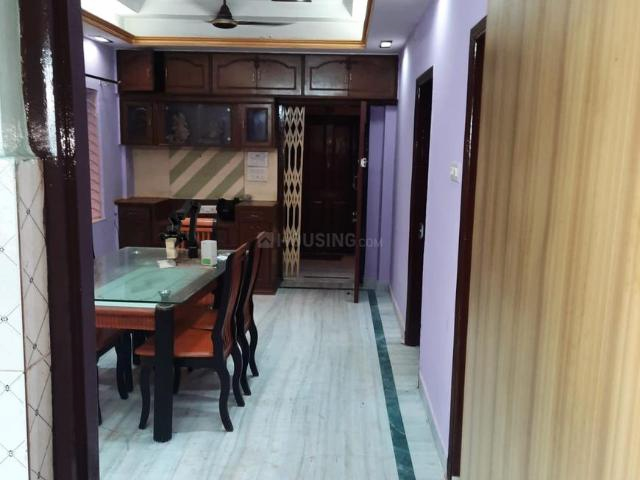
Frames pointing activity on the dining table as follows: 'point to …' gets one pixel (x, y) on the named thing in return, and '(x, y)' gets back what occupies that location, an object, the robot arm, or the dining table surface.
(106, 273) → the dining table surface
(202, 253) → the skincare box
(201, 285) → the dining table surface
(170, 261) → the off-white base block
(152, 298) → the dining table surface
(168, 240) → the maple pillar block
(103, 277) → the dining table surface
